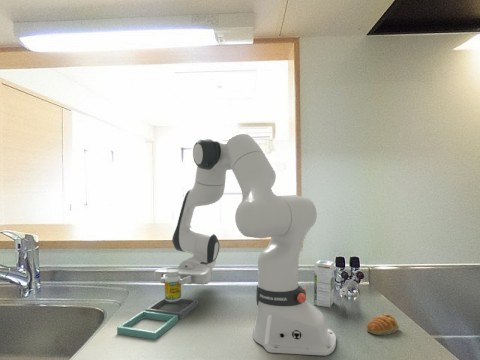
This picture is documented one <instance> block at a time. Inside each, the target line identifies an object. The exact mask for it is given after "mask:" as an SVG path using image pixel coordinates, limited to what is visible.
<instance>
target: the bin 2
mask: <svg viewBox="0 0 480 360" xmlns="http://www.w3.org/2000/svg"><path fill="white" fill-rule="evenodd" d="M167 303H169V304H176V305H185V306H186V307H184V308H183V309H182V310H181V311H179V312H178V311H170V310H164V309H163V310H161V309H159V308H160V307H162V306H163V305H165V304H167ZM198 305H199V302H198V299H192V298H191V299H190V298H184V297H183V298H182V297H181V299H180V300H178V301H174V302H168V301H166V300H165V296H164V297H163V298H161V299H159V300H158V301H156V302H154V303H153V304H151V305H150V306H148V307H146V308H145V310H144V311H148V312H155V313H163V314H171V315H178V320H182V319H183V318H184V317H186V315H188V314H189V313H190V312H191V311H192V310H194V309H195V308H196V307H198Z"/></svg>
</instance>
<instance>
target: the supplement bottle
mask: <svg viewBox="0 0 480 360" xmlns="http://www.w3.org/2000/svg"><path fill="white" fill-rule="evenodd" d="M178 274H179V271H178V270H177V269H171V270H167V271H166V275H167V277H166V278H165V283H164V297H165V300H166V301H168V302H174V301H178V300H180V299H181V298H182V285H179V279H180V276H178ZM168 302H167V303H168Z"/></svg>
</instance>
